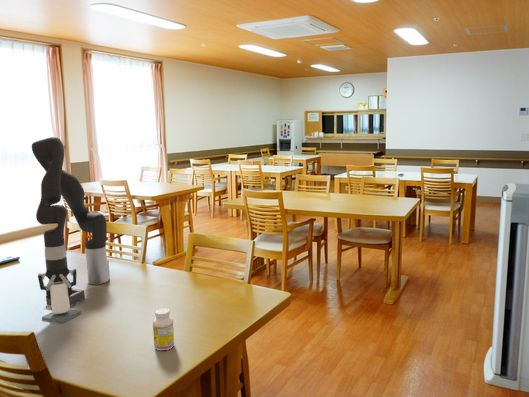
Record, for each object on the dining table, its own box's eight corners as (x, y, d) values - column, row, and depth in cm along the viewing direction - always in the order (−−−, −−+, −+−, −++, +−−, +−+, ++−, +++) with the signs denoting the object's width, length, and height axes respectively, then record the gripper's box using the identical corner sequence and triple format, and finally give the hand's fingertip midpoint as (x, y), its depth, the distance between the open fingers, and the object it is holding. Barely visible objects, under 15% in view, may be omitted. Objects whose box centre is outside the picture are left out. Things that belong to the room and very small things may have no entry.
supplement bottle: (156, 342, 159) (153, 307, 157) (175, 341, 160) (173, 306, 158) (153, 352, 153) (150, 315, 150) (173, 351, 153) (171, 314, 151)
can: (63, 315, 179) (60, 285, 177) (48, 313, 180) (45, 284, 178) (73, 308, 185) (70, 279, 183) (59, 307, 186) (56, 278, 184)
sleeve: (66, 295, 204) (65, 287, 204) (84, 299, 200) (84, 290, 200) (46, 304, 195) (45, 295, 194) (65, 308, 191) (65, 299, 190)
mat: (62, 309, 189) (61, 307, 189) (81, 313, 185) (80, 310, 185) (42, 319, 180) (41, 317, 180) (61, 323, 176) (61, 320, 176)
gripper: (34, 261, 173) (38, 303, 175) (76, 256, 178) (79, 297, 181) (35, 256, 179) (40, 297, 182) (75, 251, 185) (79, 291, 188)
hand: (59, 297), depth 181 cm, fingers closed on can, 6 cm apart
